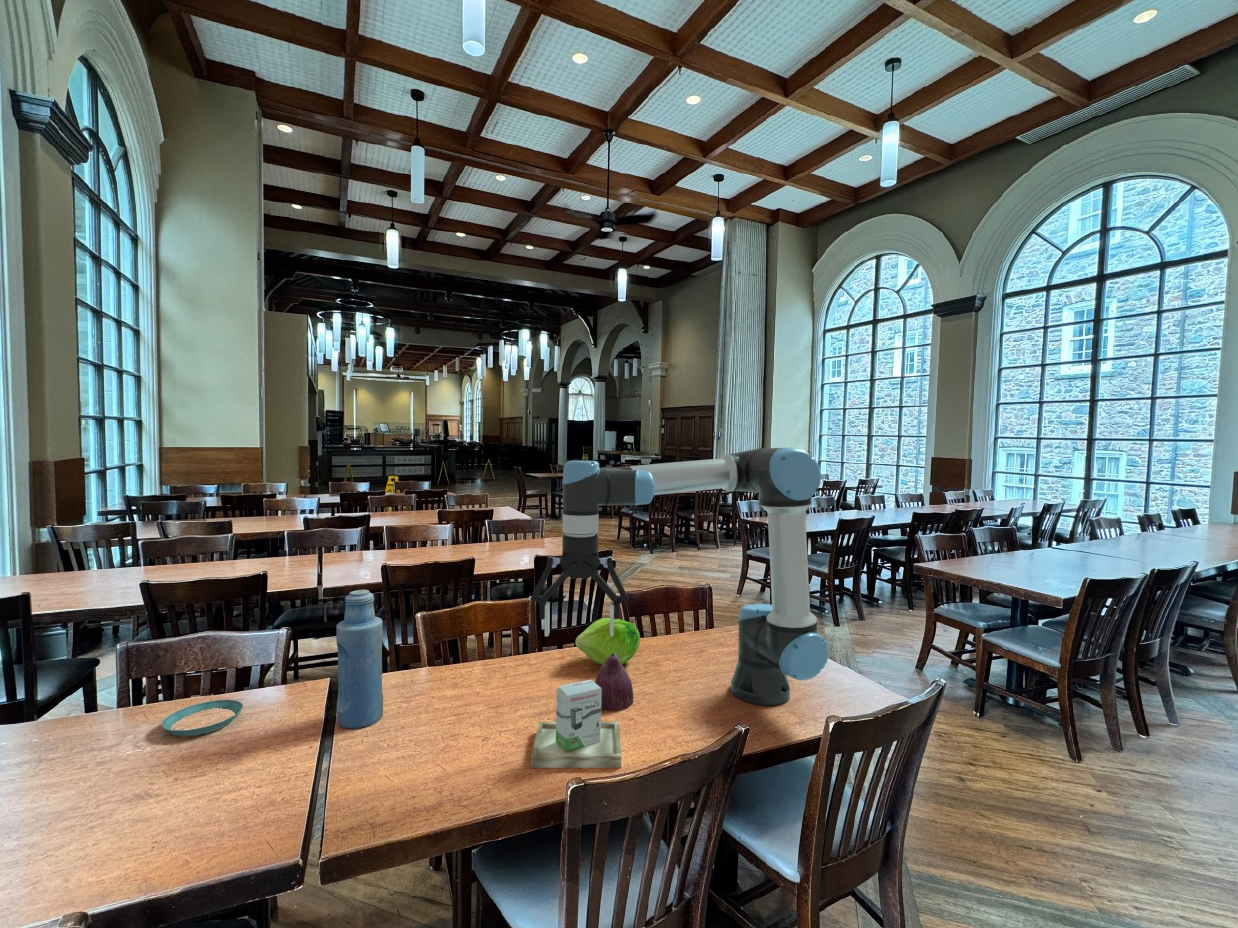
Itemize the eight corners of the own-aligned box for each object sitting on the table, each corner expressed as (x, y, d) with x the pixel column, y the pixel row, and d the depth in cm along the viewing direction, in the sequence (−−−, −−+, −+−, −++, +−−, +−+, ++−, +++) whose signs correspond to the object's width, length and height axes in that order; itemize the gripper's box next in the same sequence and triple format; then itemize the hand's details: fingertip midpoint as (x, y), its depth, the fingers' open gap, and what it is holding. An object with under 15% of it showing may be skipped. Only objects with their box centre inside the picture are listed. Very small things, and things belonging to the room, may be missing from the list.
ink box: (565, 752, 113) (565, 695, 112) (554, 741, 117) (555, 686, 117) (601, 741, 117) (602, 686, 117) (590, 731, 121) (591, 678, 121)
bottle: (390, 719, 129) (390, 591, 128) (346, 734, 121) (346, 599, 121) (372, 705, 135) (373, 584, 134) (329, 719, 128) (330, 591, 127)
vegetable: (627, 724, 134) (633, 673, 130) (586, 714, 136) (591, 663, 132) (636, 696, 144) (642, 647, 139) (598, 687, 146) (602, 638, 141)
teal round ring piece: (223, 704, 135) (223, 693, 135) (256, 720, 128) (256, 708, 128) (149, 730, 122) (149, 718, 122) (180, 749, 115) (180, 736, 115)
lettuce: (566, 662, 165) (569, 615, 168) (627, 664, 172) (629, 618, 176) (583, 668, 152) (586, 616, 155) (648, 669, 159) (650, 620, 163)
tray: (618, 731, 124) (618, 721, 124) (621, 767, 110) (621, 756, 110) (538, 731, 124) (538, 721, 124) (530, 767, 110) (530, 756, 110)
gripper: (638, 531, 120) (637, 628, 121) (523, 530, 119) (522, 628, 120) (641, 537, 113) (639, 640, 113) (518, 536, 112) (517, 640, 112)
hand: (579, 634), depth 116 cm, fingers open, 13 cm apart
